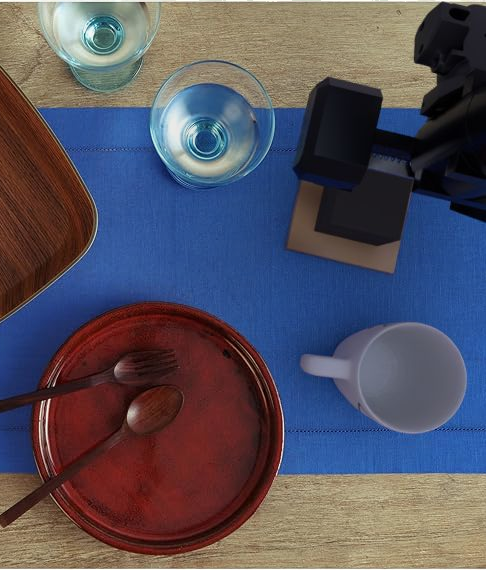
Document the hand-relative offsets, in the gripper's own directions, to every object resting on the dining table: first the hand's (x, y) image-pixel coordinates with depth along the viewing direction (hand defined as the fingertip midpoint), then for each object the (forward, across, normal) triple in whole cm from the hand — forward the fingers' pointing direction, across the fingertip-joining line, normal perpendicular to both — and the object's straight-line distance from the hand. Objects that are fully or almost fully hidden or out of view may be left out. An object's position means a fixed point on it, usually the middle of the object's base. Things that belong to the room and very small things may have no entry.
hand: (394, 189), depth 47 cm
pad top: (+7, 0, 0) cm, 7 cm away
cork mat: (+10, 0, 0) cm, 10 cm away
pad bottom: (+9, 0, 0) cm, 9 cm away
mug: (+10, -3, +14) cm, 17 cm away
